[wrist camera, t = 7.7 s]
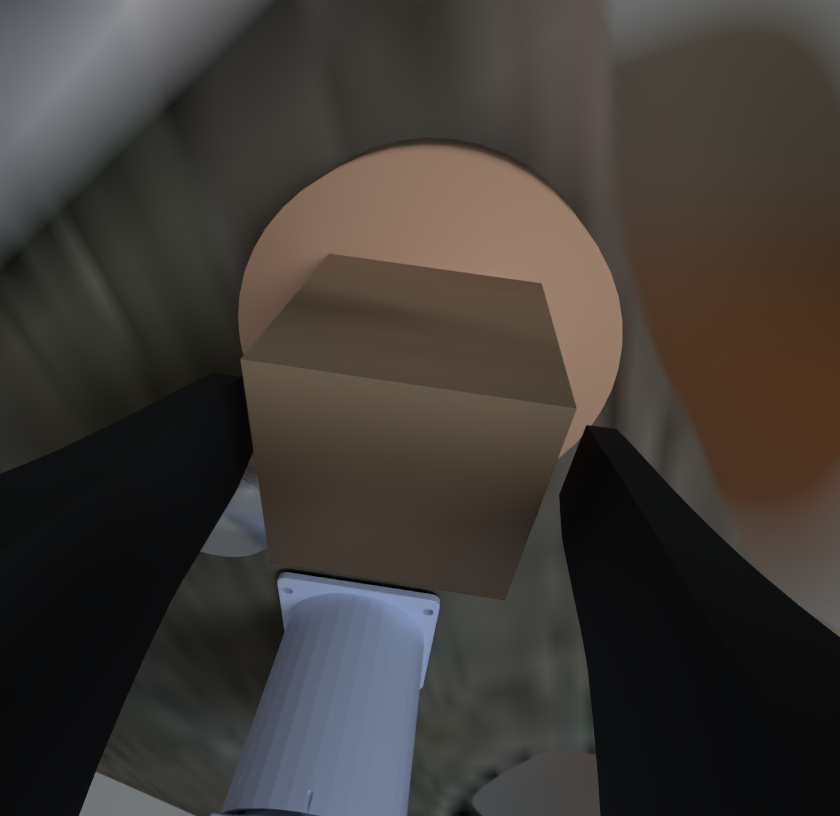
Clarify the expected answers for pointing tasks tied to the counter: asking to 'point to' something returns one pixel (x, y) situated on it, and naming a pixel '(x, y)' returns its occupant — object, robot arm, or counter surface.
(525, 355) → the walnut cube
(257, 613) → the counter surface
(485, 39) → the counter surface
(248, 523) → the grey tin
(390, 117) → the counter surface
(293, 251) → the tan round disc
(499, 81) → the counter surface
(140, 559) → the robot arm
